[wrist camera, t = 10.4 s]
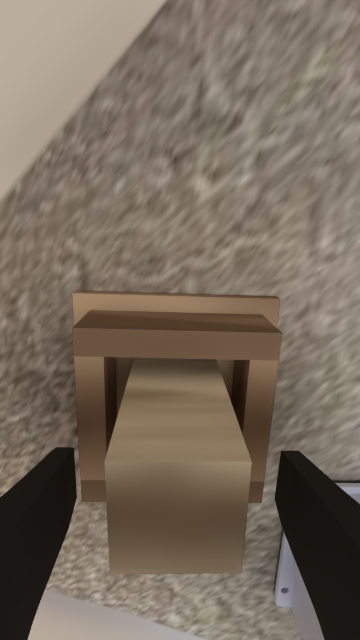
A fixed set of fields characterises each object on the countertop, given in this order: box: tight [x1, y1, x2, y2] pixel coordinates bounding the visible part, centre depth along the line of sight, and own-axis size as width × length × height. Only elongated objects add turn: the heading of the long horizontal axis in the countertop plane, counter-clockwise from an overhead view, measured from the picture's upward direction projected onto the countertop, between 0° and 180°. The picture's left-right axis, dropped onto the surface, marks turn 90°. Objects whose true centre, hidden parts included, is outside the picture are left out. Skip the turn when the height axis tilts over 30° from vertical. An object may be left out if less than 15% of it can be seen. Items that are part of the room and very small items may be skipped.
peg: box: [105, 358, 252, 574], centre depth 13 cm, size 4×4×8 cm
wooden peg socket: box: [72, 291, 282, 503], centre depth 16 cm, size 10×10×4 cm
